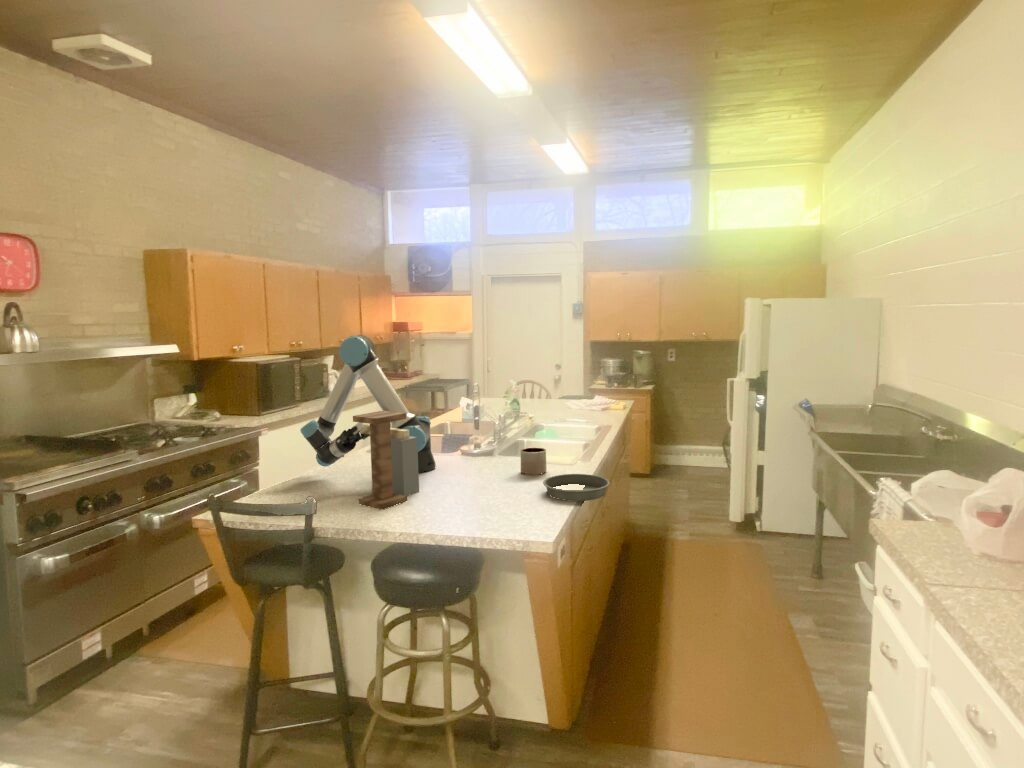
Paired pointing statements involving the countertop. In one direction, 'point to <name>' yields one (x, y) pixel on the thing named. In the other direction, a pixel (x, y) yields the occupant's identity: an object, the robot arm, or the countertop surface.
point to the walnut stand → (381, 459)
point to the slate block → (404, 465)
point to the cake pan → (591, 491)
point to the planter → (533, 460)
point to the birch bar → (394, 431)
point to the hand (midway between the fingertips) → (374, 421)
